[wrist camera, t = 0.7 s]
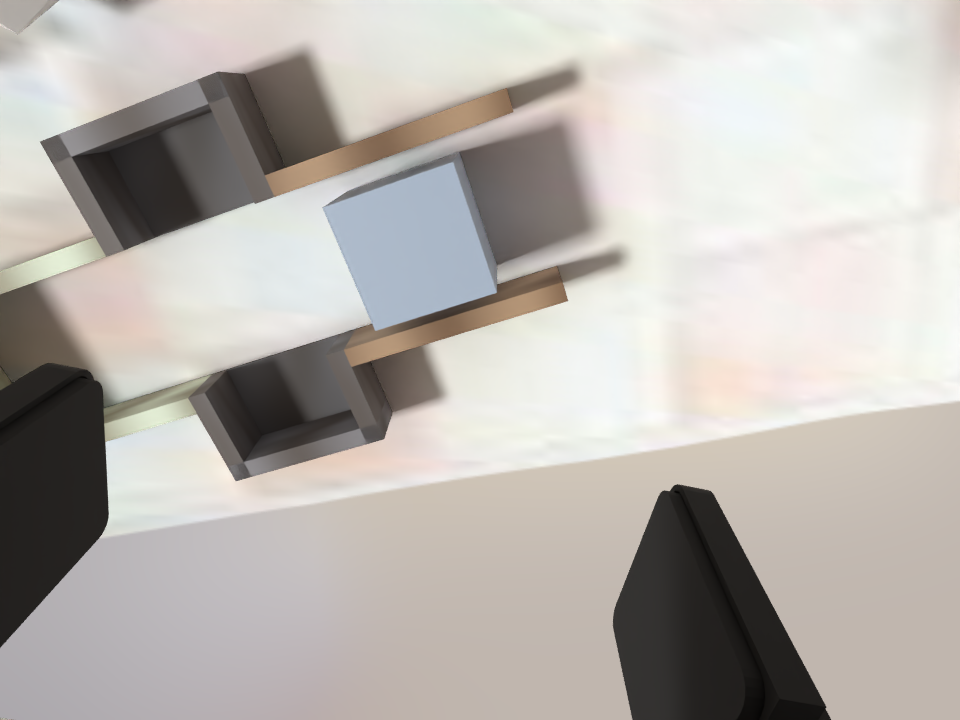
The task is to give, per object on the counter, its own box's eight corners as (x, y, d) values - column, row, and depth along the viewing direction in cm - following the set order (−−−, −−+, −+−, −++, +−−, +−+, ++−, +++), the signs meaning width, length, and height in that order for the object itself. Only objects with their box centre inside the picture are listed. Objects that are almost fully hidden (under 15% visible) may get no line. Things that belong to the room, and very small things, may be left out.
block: (459, 151, 30) (453, 162, 26) (496, 264, 33) (496, 292, 28) (347, 190, 31) (322, 207, 27) (391, 298, 33) (375, 331, 29)
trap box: (475, -17, 27) (471, -39, 23) (583, 357, 34) (596, 398, 30) (-123, 217, 32) (-227, 237, 27) (79, 503, 39) (24, 557, 35)
